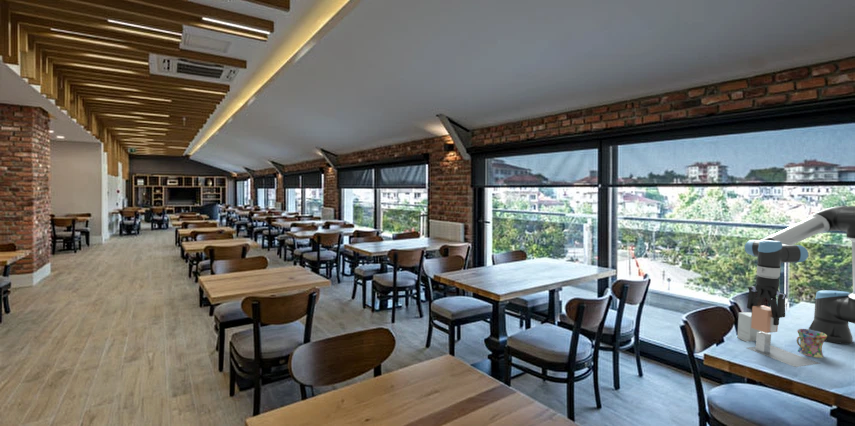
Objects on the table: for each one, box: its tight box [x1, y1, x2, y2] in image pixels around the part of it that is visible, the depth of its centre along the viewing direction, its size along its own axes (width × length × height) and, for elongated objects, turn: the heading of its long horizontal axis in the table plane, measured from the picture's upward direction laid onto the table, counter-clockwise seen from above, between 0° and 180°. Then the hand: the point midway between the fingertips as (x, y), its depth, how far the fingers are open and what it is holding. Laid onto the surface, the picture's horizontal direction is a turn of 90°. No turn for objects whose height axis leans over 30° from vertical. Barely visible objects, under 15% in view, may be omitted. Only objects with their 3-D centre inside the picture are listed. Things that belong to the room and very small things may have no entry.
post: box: [755, 332, 772, 353], centre depth 170 cm, size 3×3×8 cm
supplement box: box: [736, 311, 762, 343], centre depth 186 cm, size 7×7×13 cm
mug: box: [796, 328, 827, 358], centre depth 168 cm, size 12×9×11 cm
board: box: [746, 344, 821, 368], centre depth 167 cm, size 14×19×2 cm
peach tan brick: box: [751, 304, 779, 334], centre depth 170 cm, size 6×6×10 cm
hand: (764, 328), depth 170 cm, fingers closed on peach tan brick, 6 cm apart
